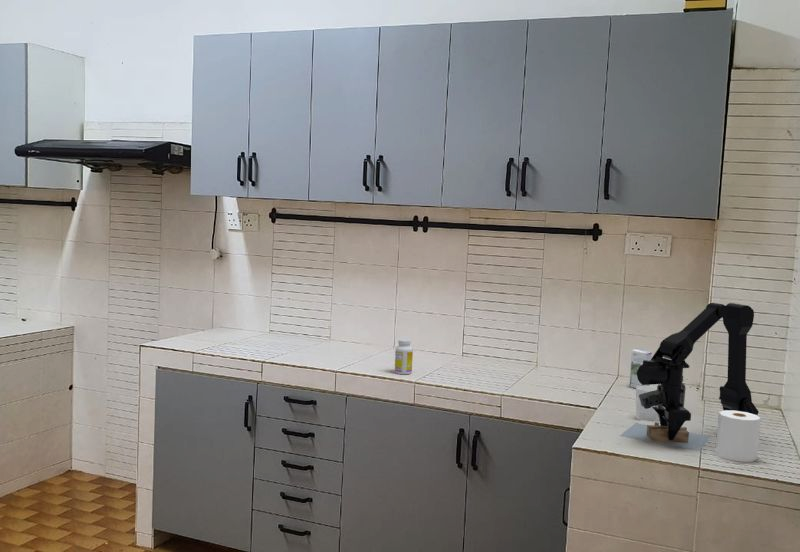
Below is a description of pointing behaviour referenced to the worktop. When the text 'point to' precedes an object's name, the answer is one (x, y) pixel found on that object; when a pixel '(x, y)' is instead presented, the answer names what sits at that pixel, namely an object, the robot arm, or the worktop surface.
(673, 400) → the robot arm
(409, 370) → the supplement bottle
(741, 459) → the toilet paper
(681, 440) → the brown wooden block
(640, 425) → the grey board
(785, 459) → the worktop surface
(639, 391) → the white cup
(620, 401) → the worktop surface
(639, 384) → the syrup box
